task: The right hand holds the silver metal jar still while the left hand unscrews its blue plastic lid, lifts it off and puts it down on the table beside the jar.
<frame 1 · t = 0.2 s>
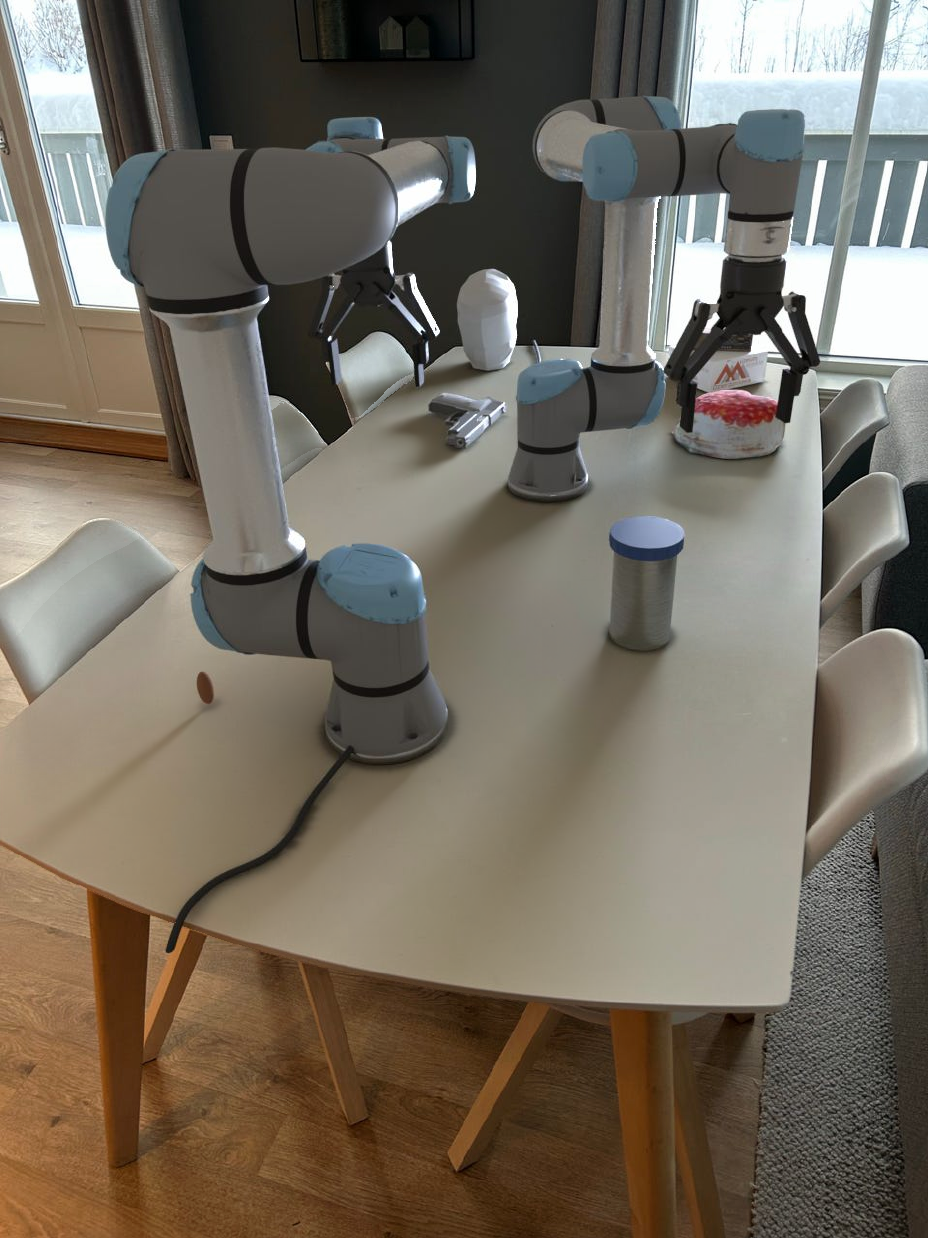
left hand: (377, 383, 142), 28 cm above the table, tool pointing down, fingers open, 13 cm apart
right hand: (734, 424, 121), 28 cm above the table, tool pointing down, fingers open, 13 cm apart
pistol: (454, 427, 205), on the table
white cardboard box: (714, 379, 228), on the table
brown oval piece: (209, 704, 119), on the table
lid: (646, 534, 121), point 16 cm above the table, screwed on, not yet turned
jar: (639, 634, 129), on the table
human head: (489, 365, 246), on the table
cake: (728, 438, 193), on the table
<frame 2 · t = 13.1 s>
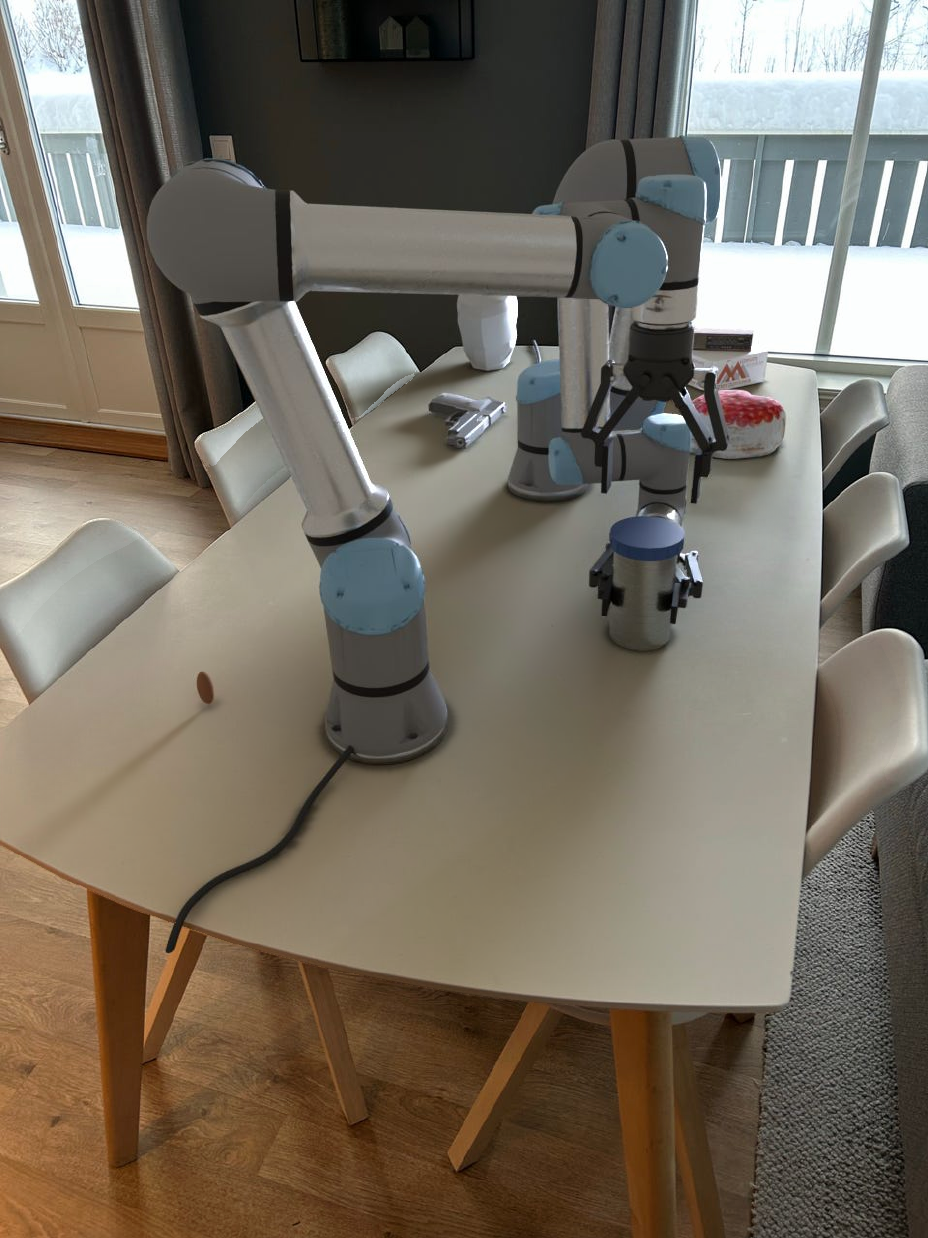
left hand: (649, 494, 118), 22 cm above the table, tool pointing down, fingers open, 11 cm apart
right hand: (638, 611, 122), 7 cm above the table, tool horizontal, fingers closed on jar, 8 cm apart
jar: (639, 634, 129), on the table, touching right hand
everything else where it was.
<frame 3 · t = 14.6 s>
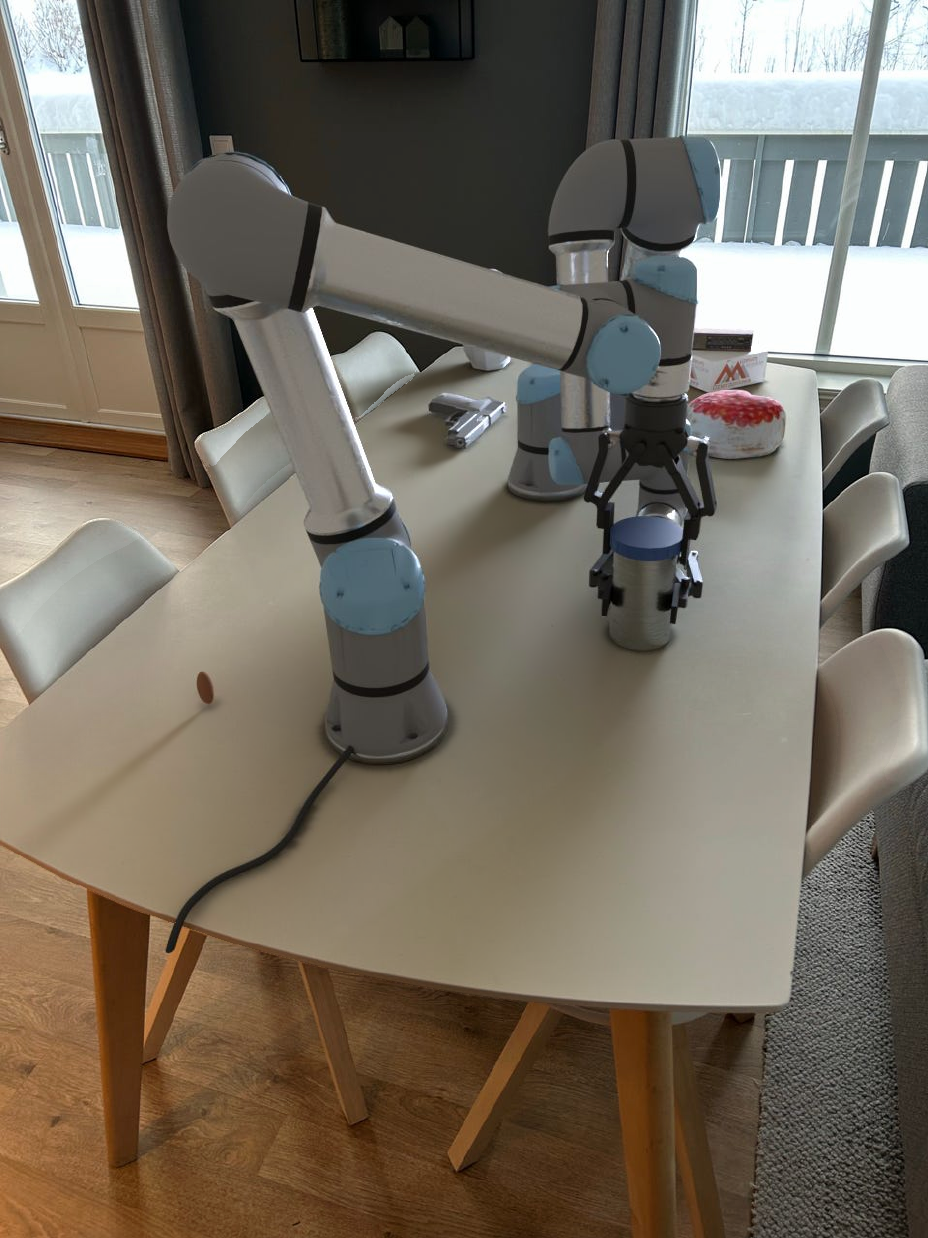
left hand: (645, 554, 123), 13 cm above the table, tool pointing down, fingers closed on lid, 10 cm apart
right hand: (638, 611, 122), 7 cm above the table, tool horizontal, fingers closed on jar, 8 cm apart
lid: (646, 534, 121), point 16 cm above the table, screwed on, not yet turned, touching left hand
jar: (639, 634, 129), on the table, touching right hand
everything else where it was.
when the left hand's fingers open (13 cm above the table, at t = 16.4 s): lid stays where it is, point 16 cm above the table.
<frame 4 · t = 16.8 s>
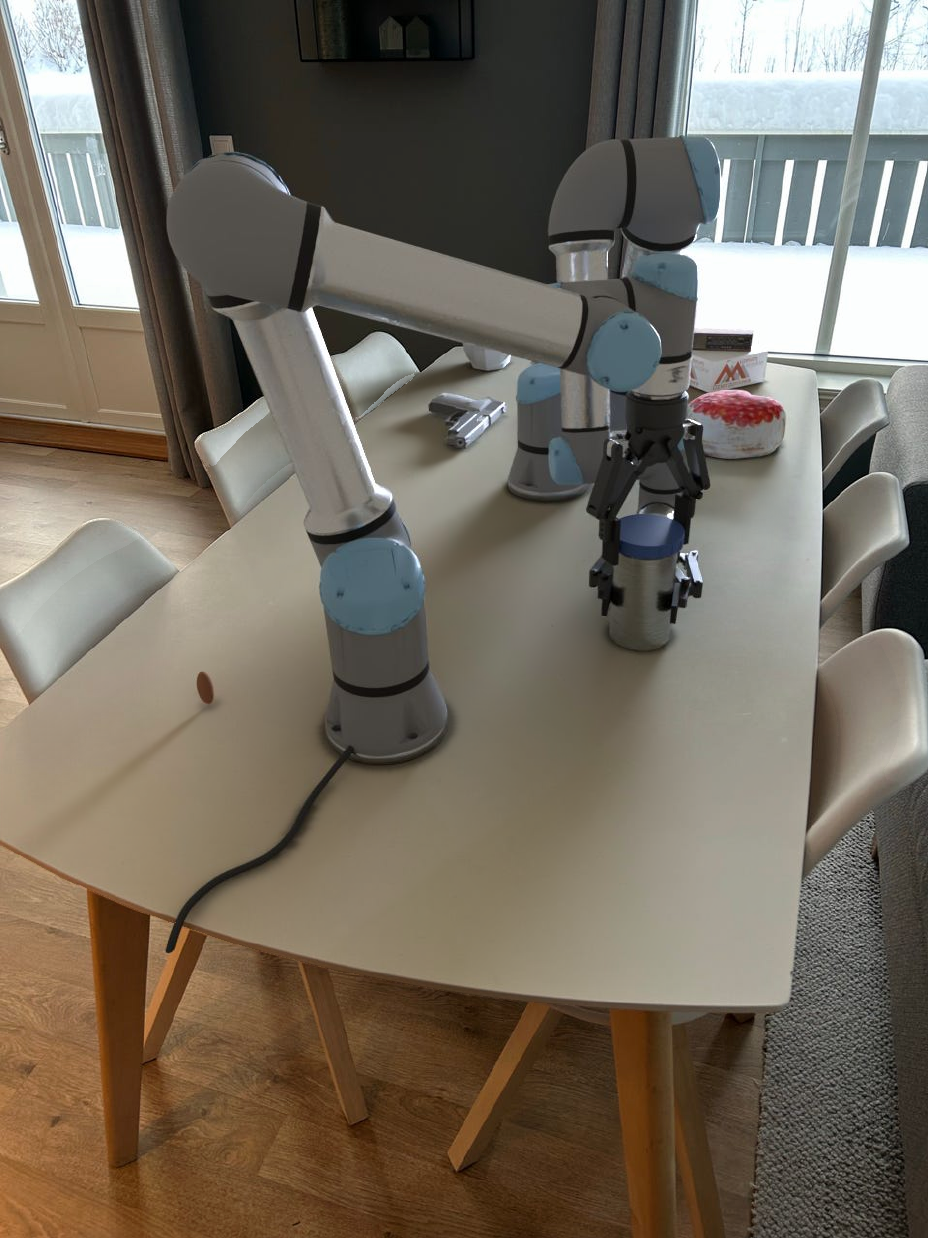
left hand: (645, 550, 122), 13 cm above the table, tool pointing down, fingers open, 11 cm apart
right hand: (638, 611, 122), 7 cm above the table, tool horizontal, fingers closed on jar, 8 cm apart
lid: (647, 531, 121), point 16 cm above the table, turned 93° so far, risen 0.3 cm, still on its thread
jar: (639, 634, 129), on the table, touching right hand
everything else where it was.
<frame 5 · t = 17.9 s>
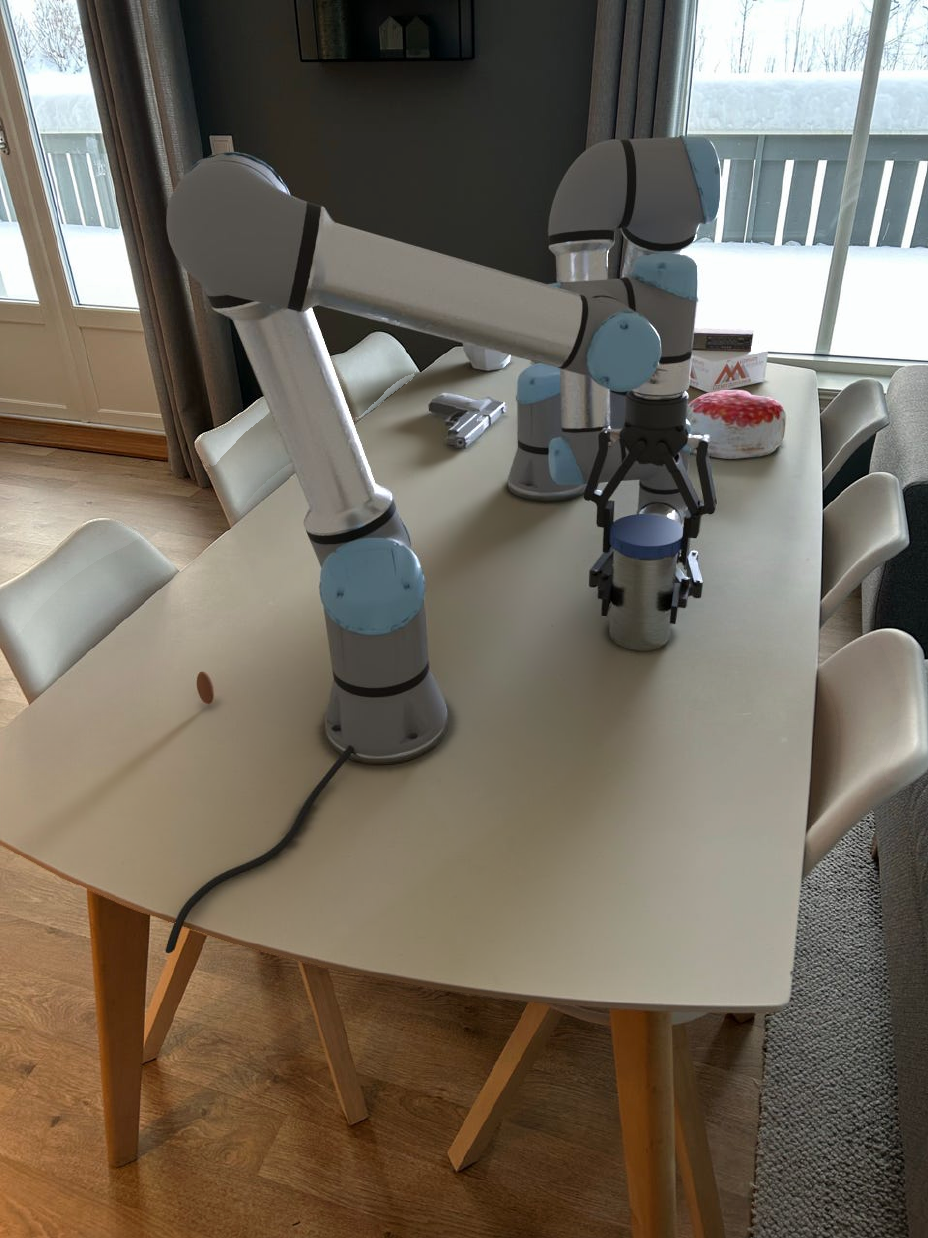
left hand: (645, 552, 122), 13 cm above the table, tool pointing down, fingers closed on lid, 10 cm apart
right hand: (638, 611, 122), 7 cm above the table, tool horizontal, fingers closed on jar, 8 cm apart
lid: (646, 531, 121), point 16 cm above the table, turned 93° so far, risen 0.3 cm, still on its thread, touching left hand
jar: (639, 634, 129), on the table, touching right hand
everything else where it was.
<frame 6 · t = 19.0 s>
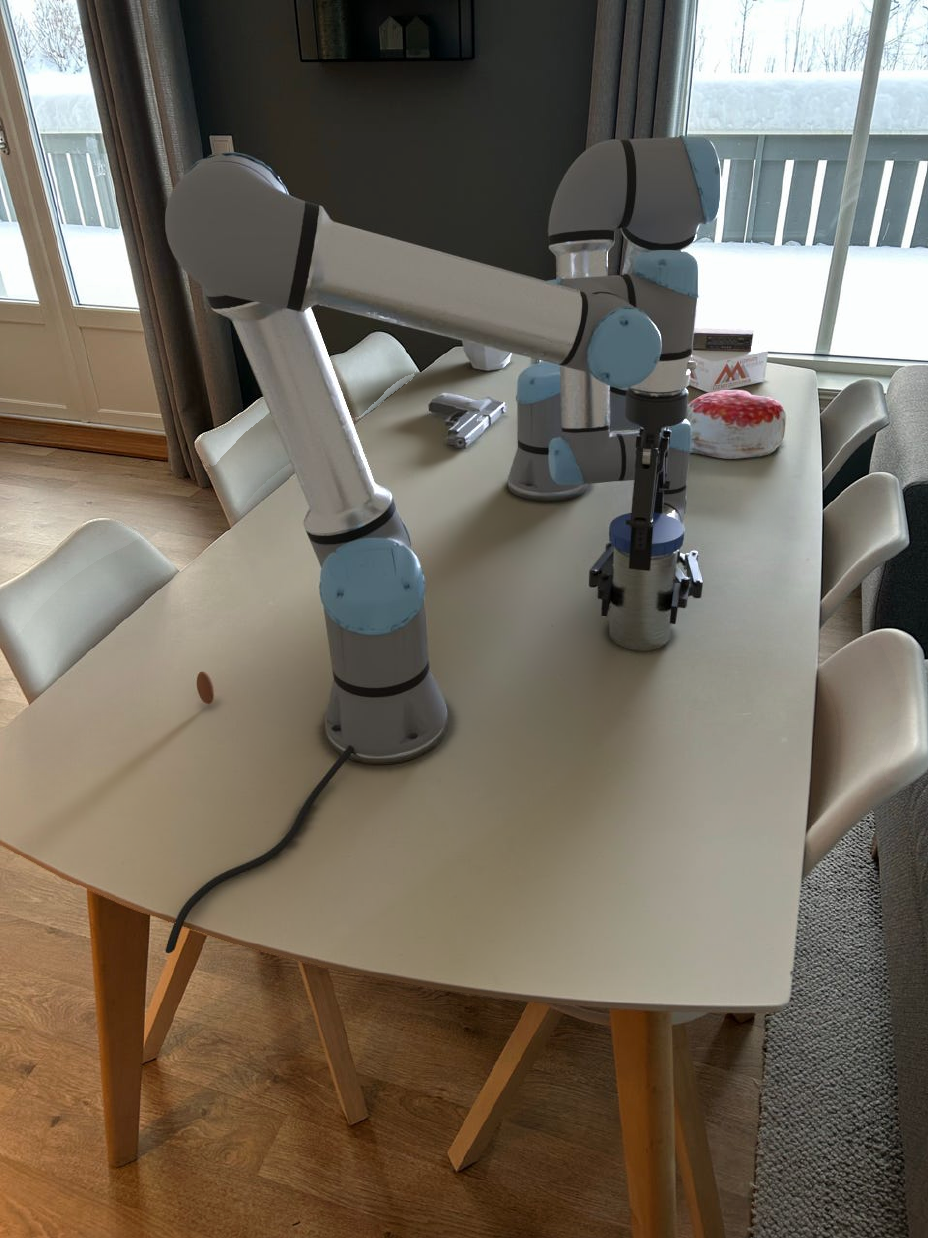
left hand: (645, 550, 122), 13 cm above the table, tool pointing down, fingers closed on lid, 10 cm apart
right hand: (638, 611, 122), 7 cm above the table, tool horizontal, fingers closed on jar, 8 cm apart
lid: (646, 529, 121), point 17 cm above the table, off its thread, touching left hand
jar: (639, 634, 129), on the table, touching right hand
everything else where it was.
when the left hand's fingers open (0 cm above the table, at t = 24.0 s): lid drops 2 cm, point 2 cm above the table.
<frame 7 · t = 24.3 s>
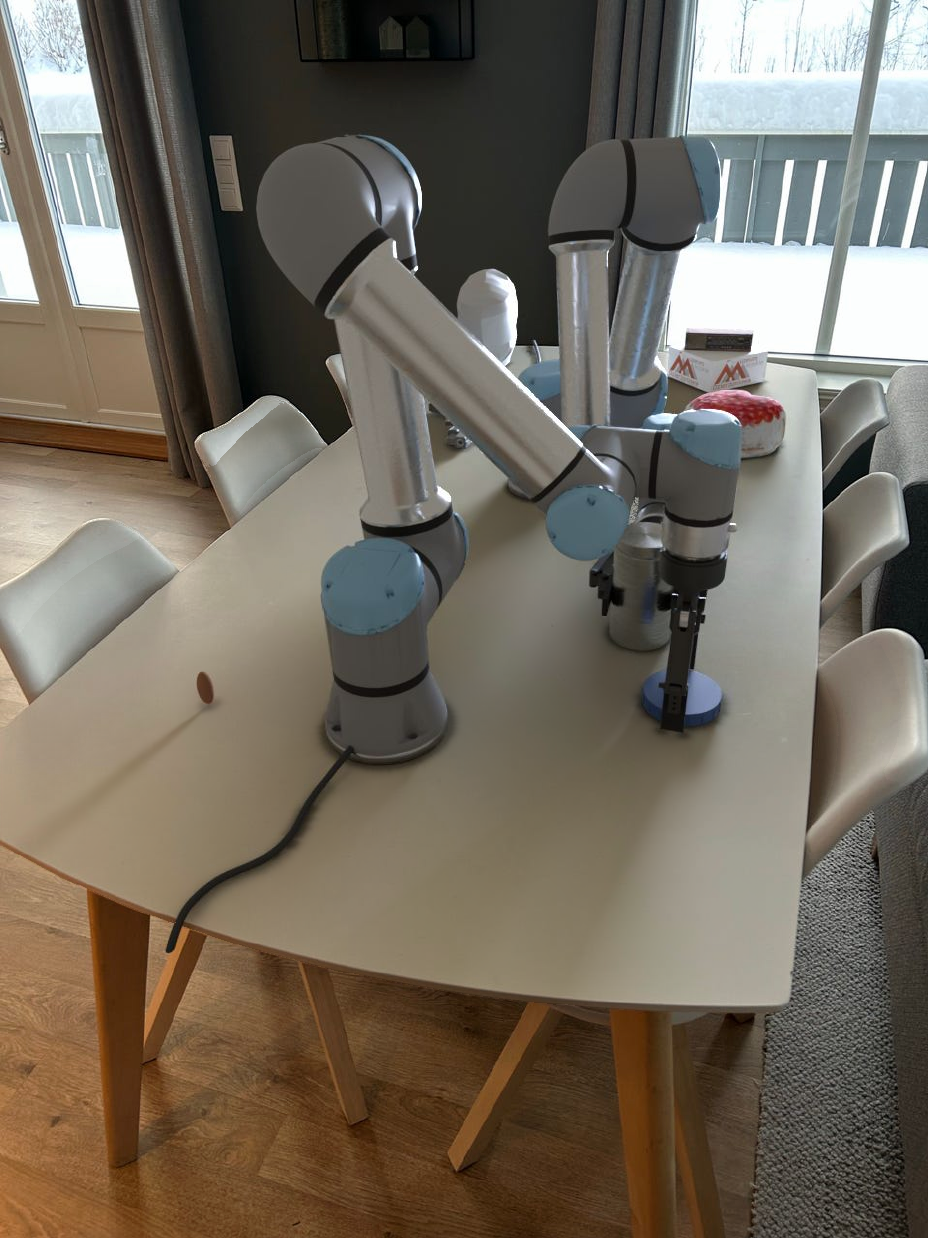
left hand: (678, 696, 115), 1 cm above the table, tool pointing down, fingers open, 13 cm apart
right hand: (638, 611, 122), 7 cm above the table, tool horizontal, fingers closed on jar, 8 cm apart
lid: (682, 692, 115), point 2 cm above the table, off its thread
jar: (639, 634, 129), on the table, touching right hand
everything else where it was.
when the right hand's fingers open (7 cm above the table, at t = 25.0 s): jar stays where it is, on the table.
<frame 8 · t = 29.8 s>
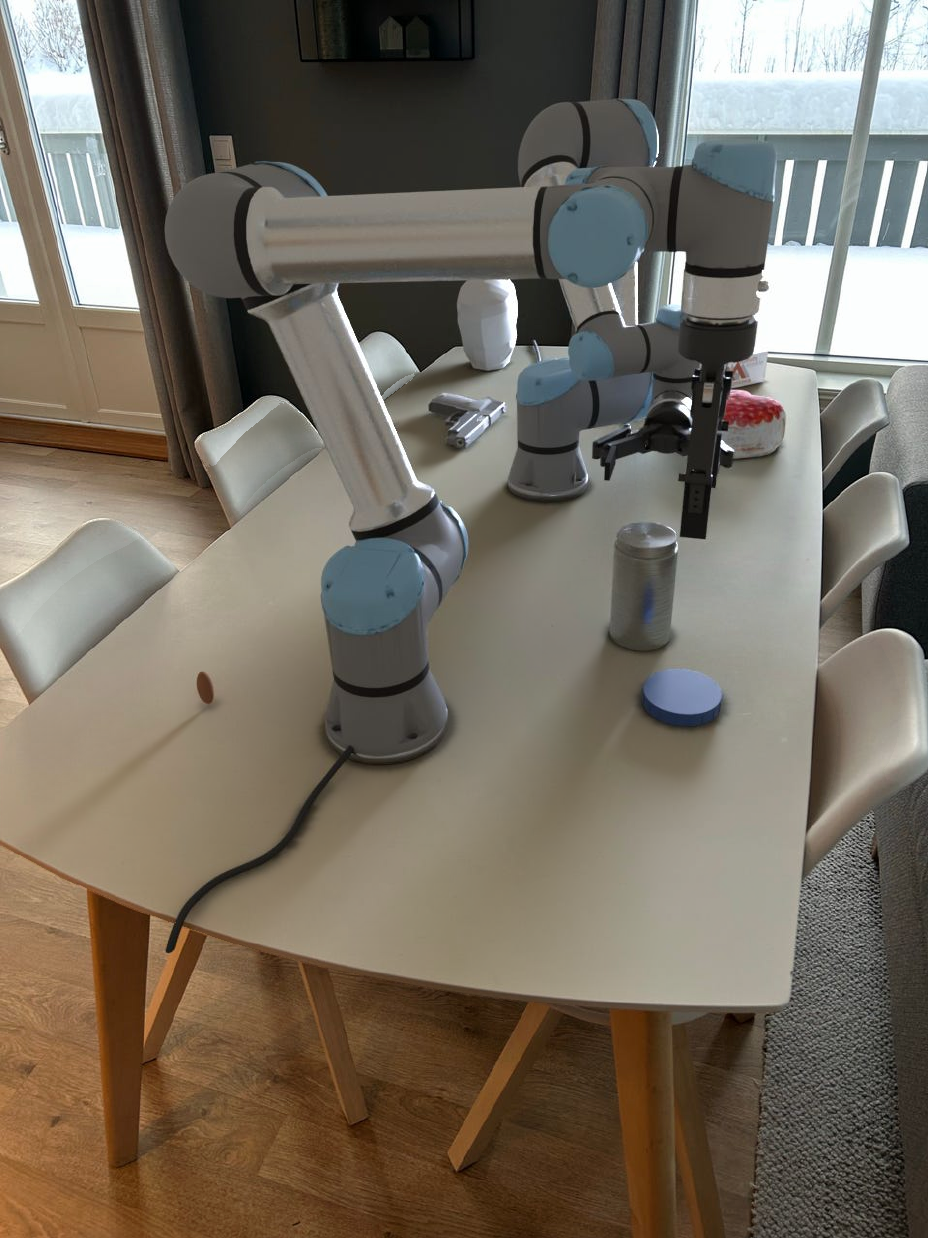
left hand: (698, 510, 101), 27 cm above the table, tool pointing down, fingers open, 13 cm apart
right hand: (656, 475, 126), 21 cm above the table, tool horizontal, fingers open, 13 cm apart
jar: (639, 634, 129), on the table
everything else where it was.
at the end: lid came off its thread; lid point 1.5 cm above the table; the left hand is holding nothing; the right hand is holding nothing; jar tilted 0°; jar moved 0.0 cm from its start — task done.
